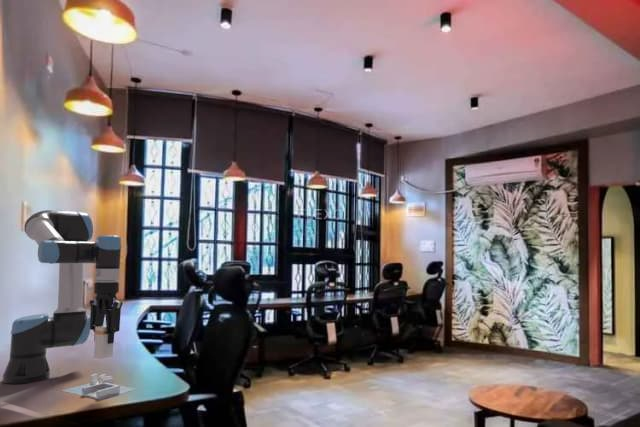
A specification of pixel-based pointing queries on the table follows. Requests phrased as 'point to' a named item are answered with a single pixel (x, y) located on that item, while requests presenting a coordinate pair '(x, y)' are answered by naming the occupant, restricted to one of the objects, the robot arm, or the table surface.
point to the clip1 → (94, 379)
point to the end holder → (100, 390)
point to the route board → (78, 389)
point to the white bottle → (100, 343)
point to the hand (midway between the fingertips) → (103, 352)
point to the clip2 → (107, 380)
